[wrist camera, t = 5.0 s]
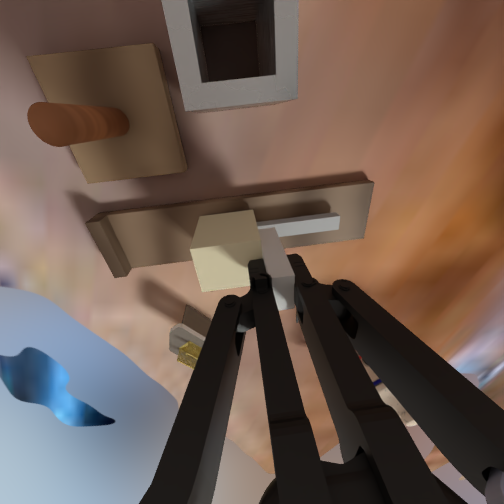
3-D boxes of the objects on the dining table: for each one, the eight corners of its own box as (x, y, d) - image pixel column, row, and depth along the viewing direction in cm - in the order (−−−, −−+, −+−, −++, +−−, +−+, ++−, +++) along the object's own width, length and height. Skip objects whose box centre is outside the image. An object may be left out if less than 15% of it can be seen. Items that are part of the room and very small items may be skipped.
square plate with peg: (159, 49, 15) (97, -11, 8) (187, 168, 20) (163, 198, 12) (43, 61, 15) (-124, 12, 8) (96, 179, 19) (19, 216, 12)
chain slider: (337, 199, 21) (372, 225, 16) (333, 236, 23) (362, 270, 18) (199, 216, 21) (189, 249, 15) (208, 252, 23) (202, 292, 18)
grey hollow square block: (270, -5, 15) (299, -88, 9) (274, 104, 18) (297, 98, 12) (179, 5, 14) (145, -73, 9) (200, 113, 18) (185, 111, 12)
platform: (220, 365, 36) (218, 410, 31) (120, 309, 28) (92, 357, 23) (278, 329, 33) (288, 373, 27) (183, 255, 25) (170, 295, 19)
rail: (368, 179, 22) (383, 186, 20) (359, 234, 25) (370, 244, 23) (99, 212, 21) (85, 223, 19) (124, 264, 24) (114, 277, 22)
